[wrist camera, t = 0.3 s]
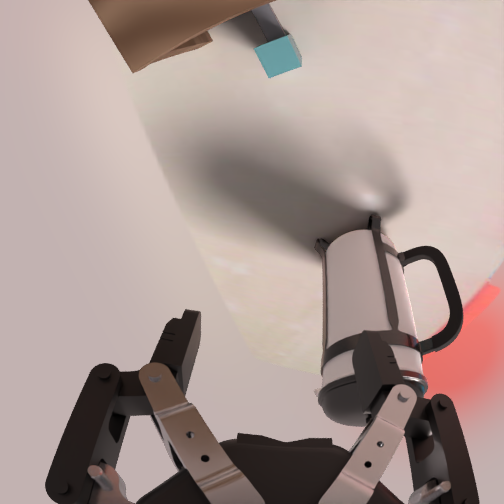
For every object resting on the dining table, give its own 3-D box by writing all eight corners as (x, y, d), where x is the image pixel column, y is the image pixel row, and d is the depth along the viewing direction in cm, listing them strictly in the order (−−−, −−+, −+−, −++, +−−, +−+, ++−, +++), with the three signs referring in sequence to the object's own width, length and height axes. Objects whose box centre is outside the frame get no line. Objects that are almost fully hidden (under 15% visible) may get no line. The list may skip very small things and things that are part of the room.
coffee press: (382, 289, 52) (396, 451, 31) (302, 269, 52) (287, 448, 30) (431, 217, 40) (491, 409, 18) (339, 185, 40) (358, 412, 18)
